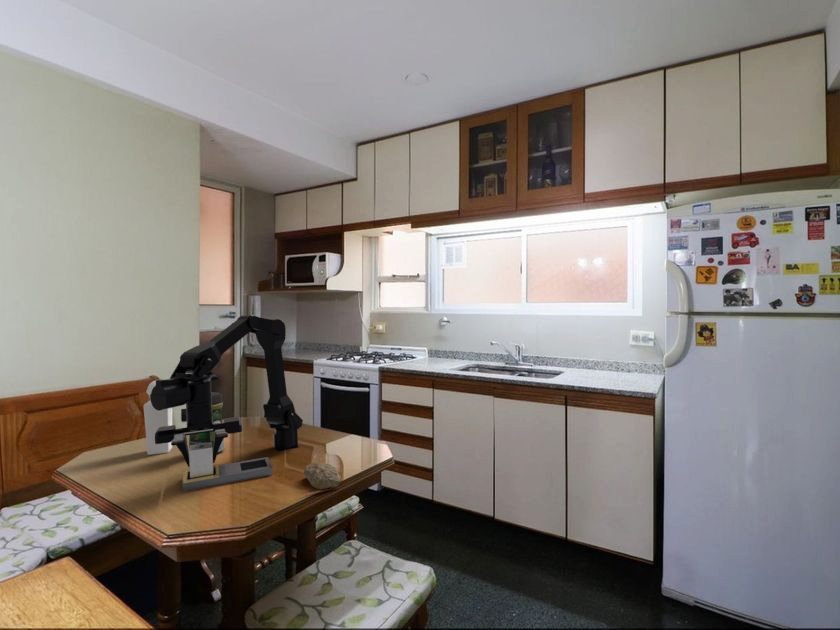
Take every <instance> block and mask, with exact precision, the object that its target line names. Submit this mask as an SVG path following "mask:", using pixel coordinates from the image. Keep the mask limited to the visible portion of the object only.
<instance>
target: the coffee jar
mask: <svg viewBox="0 0 840 630" xmlns="http://www.w3.org/2000/svg"><path fill="white" fill-rule="evenodd" d="M211 393H212V412H213V424H216V423H223V420H222V419H223V416H222V412H223V404H224V403H223V402H224V401H223V396H222V393H220V392H219V391H218V392H215V391H211ZM206 429H209V428H206ZM192 431H196V430H192ZM188 436H189V437H188V438H189V439H188V440H189V441H188V449H189V448H190V445H196V444H203V443H209V442H212V451H213V447H214V436H215V431H214V432H207V433H200V434H193V435H188ZM223 451H225V438H224V439H223V441H222V443H221V445H220V447H219V450H218V453H217V455H219V454H221V453H222V452H223Z"/></svg>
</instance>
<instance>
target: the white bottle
mask: <svg viewBox="0 0 840 630" xmlns="http://www.w3.org/2000/svg"><path fill="white" fill-rule="evenodd" d="M155 386H156V380H153V381H151V382H150V383H149V385H148V386H147V388H146V391H145V392H146V394H147V395H148V397H149V398H150V394H151V392H152V389H153V388H154V387H155ZM143 414H144V415H143V416H144V427H145V440H146V450H147V455H148V456H150V455H151V456H153V455H159V454H160V455H162V454H167V453H169V452H170V451H171V450H172V448H173V445H171V442H172V441H171V442H169V443H162V444H155V433H156V431H157V429H158V428H159V427H164V426H172V425H173V408H169V409H164V410H160V411H158V410H156V409H155V408H154V407H153V406H152V404H151V400H150V399H149V400H148V401H147V402H146V403H144V404H143Z"/></svg>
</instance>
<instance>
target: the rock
mask: <svg viewBox="0 0 840 630" xmlns="http://www.w3.org/2000/svg"><path fill="white" fill-rule="evenodd" d="M338 472H339V471H338V469H336V467H335V466H334V465H332V464H331V463H330V464H329V463H322V462H311V463H309V464H308V465H306V466H305V468H304V469H303V474H304V477H305V478H306V479H307V480H308V482H309V484H310V485H311V487H313V488H315V489H317V490H325V489H329V488H332V489H333V488H334V489H337V488H339V486H340V483H341V481H342V477H341V476H340V475H339V473H338Z"/></svg>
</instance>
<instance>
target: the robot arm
mask: <svg viewBox="0 0 840 630" xmlns="http://www.w3.org/2000/svg"><path fill="white" fill-rule="evenodd" d="M286 329H287V328H286V325H285V322H284V321H282V320H281V319H279V318H274V319H273V318H272V319H271V318H270V319H268V318H264V317H259V316H257V315H254V314H251V315H250V314H249V315H241V316H239V317H238V318H237V319H236V320H235V321H234V322H233V323H231V324H230V325H229V326H227V327H226V328H225V329H223V330H222V331H220V332H219V333H217V334H216V335H215V336H214V337H212V338H211V339H210V340H208V341H206V342H204V343H202V344H200V345H199V344H198V345H196V346H193V347H191V348H190V349H188V350H186V351H184V352H183V353H181V355H180V357H179V362H178V364H177V366H176V367H175V369H174V370H173V372H172V373H171V375H170V377H169V378H168V379H156V380H155V381H156V386H155V387H154V388H153V389H152V392H151V394H150V397H149V401H150V400H151V404H152V406H153V407H154V408H155V409H156V410H158V411H160V410H164V409H169V408H172V409H173V408H177V407H181V406H185V408H180V415H181V416H180V421H181V423H186V427H181V428H176V425H175V424H174V425H173V424H172V426H164V427H159V428H158V429H157V431H156V433H155V444H162V443H169V442H171V441H172V442H171V445H172V446H176V447H177V450H179V452H180V453H181V455H182V457H183V459H184V461H185V463H186V465H187V467H188V468H190V463H189V444H188V440H187V439H188V438H187V436H189V435H193V434H200V433H207V432H214V431H215V436H214V447H213V464H215V463H216V459H217V456H218V454H217V453H218V450H219V447H220V445H221V443H222V441H223V439H224V440H225V439H226V438H228V437H229V435H231V434H238V433H242V432H243V427H242V426H243V425H242V420H241V418H240V417H238V416H233V417H227V418H223V422H222V423H216V424H213V412H212V393H211V392H212V382H217V381H219V379H220V378H219V377H218V376H217V375H215V373H213V370H214V369H215V368H216V367H217V365H218V364H219V363H220V361H221V358H222V356H223V355H224V354H225V353H226V352H227V351H229V350H230V349H231V348H232V347H234V346H235V345H236V344H237V343H239V341H241V340H242V339H244V338H245V336H247V335H248V334H249V333H252V334H255V337H256V339H257V343H258V344H259V346H260V347H261V348H262V349H263V352H264V362H265V369H266V379H267V386H268V394H269V398H268V401H267V402H266V403H264V404H263V406H262V407H263V413H264V416H263V417H264V418H265V419H266V420H265V421H266V422H267V423H268V426H269V428H270V429H274V433H273V434H272V438H273V439H272V443H273V445H272V446H273V448H274V449H275V450H276V451H277V452H280V451H287V450H293V449H298V448H300V445H299V440H298V439H299V437H298V430H300V428H302V426H303V421H304V420H303V419H302V418H301V417H300V415H298V413H297V412H296V409H295V405H294V402H293V401H292V400H291V398H290V396H289V395H288V392H287V384H286V383H287V382H286V375H285V368H284V367H285V366H284V359H283V357H284V356H283V351H282V349H283V348H282V347H283V345H284V342H285V341H286V335H287V334H286ZM206 428H209V429H206ZM192 430H196V431H192Z"/></svg>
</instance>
